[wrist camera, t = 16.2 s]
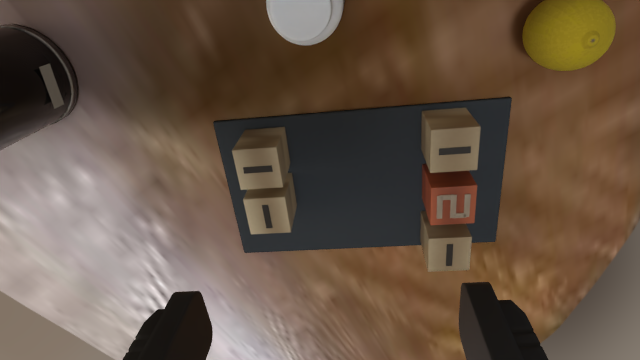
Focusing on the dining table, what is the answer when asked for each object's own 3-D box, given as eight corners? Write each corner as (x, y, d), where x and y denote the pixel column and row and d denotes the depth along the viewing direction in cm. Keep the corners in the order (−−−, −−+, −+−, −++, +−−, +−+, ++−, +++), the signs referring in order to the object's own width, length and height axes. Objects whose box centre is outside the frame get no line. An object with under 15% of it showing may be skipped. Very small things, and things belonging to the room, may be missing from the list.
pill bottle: (357, 7, 34) (359, 22, 26) (305, 44, 36) (291, 69, 27) (321, -53, 32) (310, -59, 24) (268, -11, 34) (240, -3, 26)
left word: (260, 207, 44) (250, 235, 40) (244, 129, 40) (231, 150, 35) (297, 205, 44) (290, 233, 39) (284, 126, 39) (276, 147, 35)
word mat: (245, 250, 47) (244, 252, 47) (214, 120, 40) (212, 122, 40) (494, 239, 44) (495, 241, 44) (510, 96, 37) (511, 98, 37)
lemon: (570, -25, 32) (632, -22, 25) (584, 40, 34) (644, 60, 27) (500, 8, 34) (540, 20, 27) (518, 69, 36) (558, 95, 29)
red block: (421, 198, 42) (430, 226, 38) (422, 163, 40) (431, 188, 36) (461, 195, 42) (474, 224, 37) (463, 160, 40) (477, 185, 35)
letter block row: (420, 241, 45) (428, 272, 40) (421, 110, 38) (430, 130, 33) (457, 239, 44) (469, 271, 40) (465, 107, 37) (481, 126, 33)
